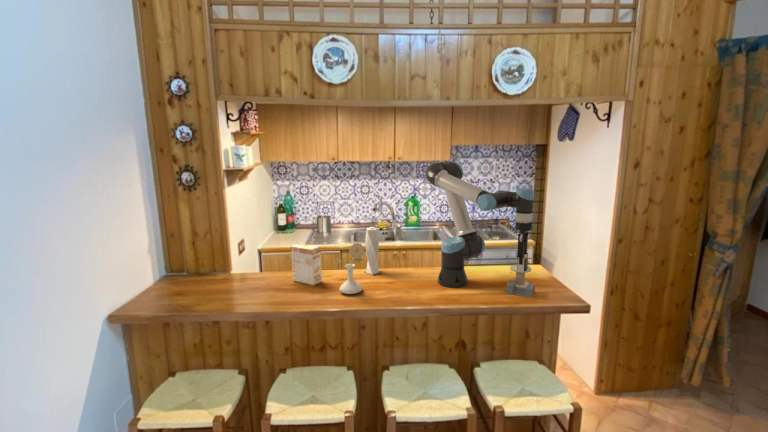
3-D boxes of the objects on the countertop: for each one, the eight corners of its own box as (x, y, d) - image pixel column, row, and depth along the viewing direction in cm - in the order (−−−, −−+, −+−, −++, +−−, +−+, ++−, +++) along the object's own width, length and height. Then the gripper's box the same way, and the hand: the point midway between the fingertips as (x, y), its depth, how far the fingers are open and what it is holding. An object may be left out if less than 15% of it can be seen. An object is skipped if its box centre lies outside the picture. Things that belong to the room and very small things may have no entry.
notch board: (505, 293, 199) (506, 285, 198) (509, 288, 206) (509, 280, 205) (531, 297, 193) (532, 289, 192) (534, 292, 200) (535, 284, 199)
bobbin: (507, 287, 207) (508, 269, 205) (511, 280, 216) (512, 263, 214) (528, 290, 202) (529, 271, 201) (531, 283, 211) (532, 266, 209)
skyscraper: (383, 272, 232) (382, 224, 226) (373, 276, 226) (372, 226, 220) (372, 269, 237) (371, 222, 232) (362, 273, 232) (361, 224, 226)
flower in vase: (339, 297, 198) (338, 246, 193) (338, 288, 209) (337, 240, 204) (366, 295, 200) (365, 245, 195) (364, 286, 211) (363, 239, 206)
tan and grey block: (516, 270, 196) (517, 256, 195) (518, 267, 200) (519, 254, 198) (526, 271, 194) (526, 257, 193) (527, 269, 198) (528, 255, 197)
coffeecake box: (322, 281, 219) (320, 246, 215) (313, 285, 213) (311, 249, 210) (301, 276, 227) (299, 242, 223) (292, 280, 221) (290, 245, 217)
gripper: (529, 225, 183) (526, 275, 188) (535, 218, 198) (532, 265, 203) (511, 224, 187) (509, 273, 191) (519, 217, 202) (517, 263, 206)
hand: (521, 269), depth 197 cm, fingers closed on tan and grey block, 4 cm apart
